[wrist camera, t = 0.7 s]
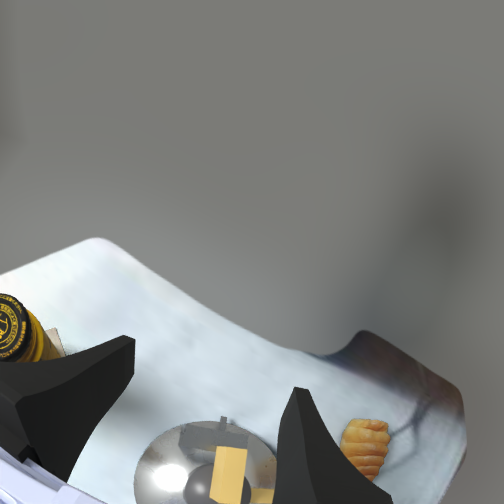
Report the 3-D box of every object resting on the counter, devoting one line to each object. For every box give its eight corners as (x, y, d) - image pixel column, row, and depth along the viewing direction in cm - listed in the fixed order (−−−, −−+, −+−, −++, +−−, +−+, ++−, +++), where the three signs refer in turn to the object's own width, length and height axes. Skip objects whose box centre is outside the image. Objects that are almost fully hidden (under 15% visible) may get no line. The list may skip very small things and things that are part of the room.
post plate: (270, 550, 20) (285, 558, 18) (125, 536, 17) (125, 547, 14) (286, 427, 30) (301, 424, 27) (149, 400, 27) (151, 396, 24)
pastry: (369, 489, 28) (390, 489, 25) (328, 487, 27) (347, 489, 24) (379, 424, 34) (399, 420, 31) (340, 417, 33) (360, 412, 30)
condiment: (55, 327, 27) (27, 269, 18) (86, 403, 24) (63, 382, 15) (0, 348, 22) (-50, 298, 13) (27, 425, 20) (-25, 413, 11)
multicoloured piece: (271, 519, 22) (295, 529, 18) (178, 513, 20) (188, 526, 16) (279, 454, 27) (304, 454, 23) (190, 441, 24) (201, 442, 21)
